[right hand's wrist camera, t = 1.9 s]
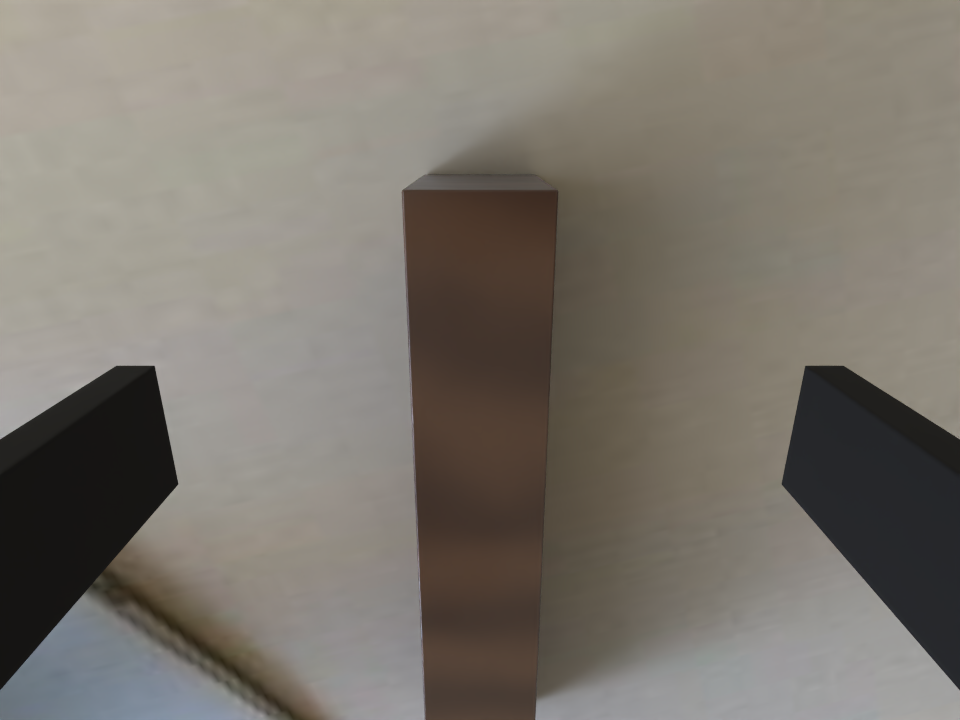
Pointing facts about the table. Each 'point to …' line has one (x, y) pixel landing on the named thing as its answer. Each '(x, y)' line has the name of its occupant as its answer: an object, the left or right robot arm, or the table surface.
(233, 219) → the table surface
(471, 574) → the plank
